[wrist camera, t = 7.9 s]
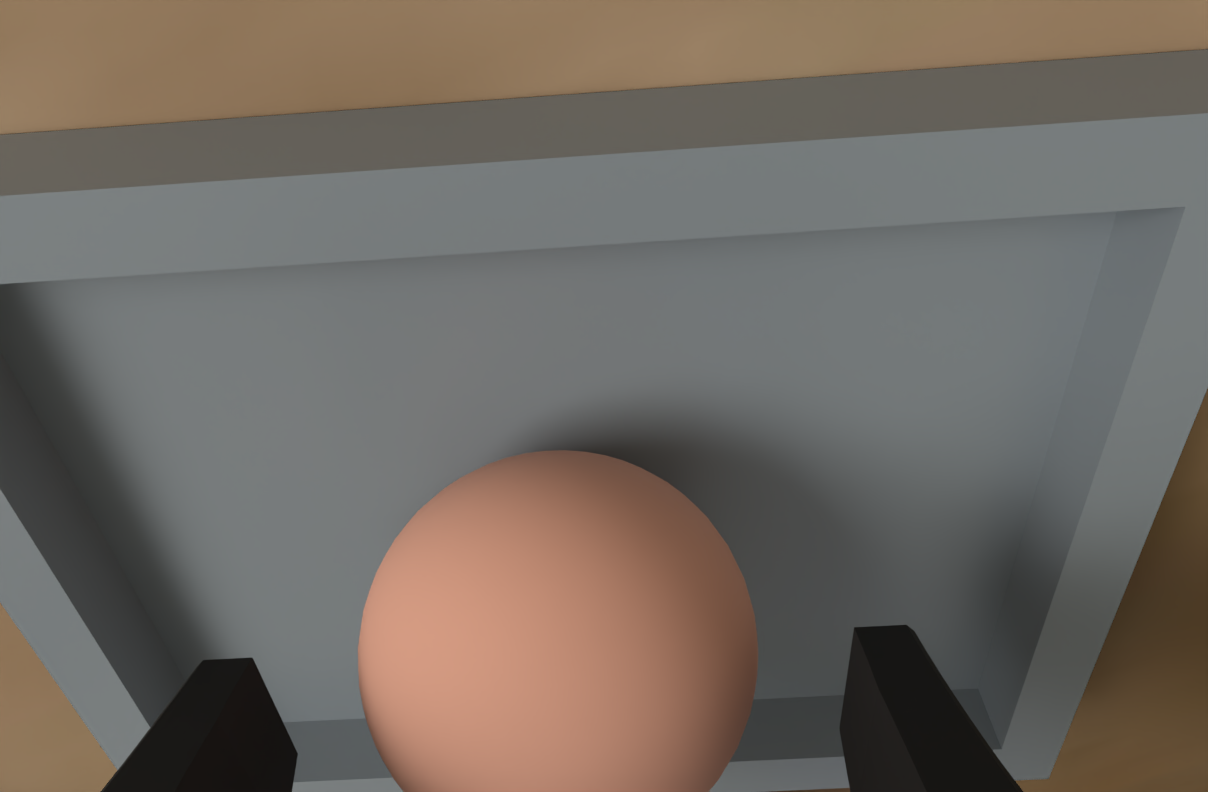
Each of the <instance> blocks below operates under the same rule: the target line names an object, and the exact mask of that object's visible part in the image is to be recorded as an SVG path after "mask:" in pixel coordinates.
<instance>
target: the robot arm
mask: <svg viewBox="0 0 1208 792" xmlns="http://www.w3.org/2000/svg"><path fill="white" fill-rule="evenodd" d="M839 730H840V736H841V741H842V747H843V753H844V759H845V764H846V770H847V776H848V781H849V787H850V792H1023V791H1022V790H1021V788H1020V787H1019V786H1018V784H1017V783H1016V782H1015V780H1014V779H1013V777H1012V776H1011V775H1010V773H1009V772H1008V771H1007V769H1006V768H1005V767H1004V765H1003V764H1002V763H1001V761H1000V760H999V759H998V757H997V756H996V754H995V753H994V752H993V750H992V749H991V747H990V746H989V745H988V743H987V742H986V740H985V739H984V738H983V736H982V735H981V733H980V732H979V730H978V729H977V727H976V726H975V725H974V723H973V722H972V720H971V719H970V717H969V716H968V714H967V713H966V711H965V710H964V708H963V707H962V706H961V704H960V703H959V701H958V700H957V698H956V697H955V695H954V693H953V692H952V690H951V689H950V687H949V686H948V684H947V683H946V681H945V680H944V678H943V677H942V675H941V674H940V672H939V670H938V669H937V667H936V666H935V664H934V662H933V661H932V659H931V658H930V656H929V654H928V653H927V651H926V650H925V648H924V646H923V645H922V643H921V641H920V640H919V638H918V636H917V634H916V633H915V631H914V630H913V629H911V628H910V627H909V626H907V625H890V626H870V627H854V632H853V638H852V645H851V652H850V659H849V666H848V673H847V679H846V686H845V693H844V700H843V707H842V714H841V720H840V727H839ZM297 756H298V753H297V751H296V749H295V746H294V744H293V742H292V740H291V738H290V736H289V734H288V732H287V730H286V727H285V725H284V723H283V721H282V719H281V717H280V715H279V713H278V710H277V708H276V706H275V704H274V702H273V700H272V698H271V696H270V694H269V691H268V689H267V687H266V685H265V683H264V681H263V679H262V677H261V674H260V672H259V670H258V668H257V666H256V664H255V662H254V660H253V658H232V659H213V660H203V661H202V662H201V663H200V664H199V665H198V666H197V667H196V668H195V670H194V671H193V672H192V674H191V675H190V676H189V677H188V679H187V680H186V681H185V683H184V684H183V685H182V687H181V688H180V689H179V691H178V692H177V693H176V694H175V696H174V697H173V698H172V700H171V701H170V702H169V704H168V705H167V706H166V708H165V709H164V710H163V712H162V713H161V714H160V716H159V717H158V718H157V720H156V721H155V722H154V724H153V725H152V726H151V728H150V729H149V730H148V731H147V733H146V734H145V735H144V737H143V738H142V739H141V741H140V742H139V743H138V745H137V746H136V747H135V748H134V750H133V751H132V752H131V754H130V755H129V756H128V758H127V759H126V760H125V761H124V763H123V764H122V765H121V767H120V768H119V769H118V771H117V772H116V773H115V774H114V776H113V777H112V778H111V780H110V781H109V782H108V783H107V785H106V786H105V787H104V788H103V790H102V791H101V792H292V788H293V781H294V775H295V769H296V763H297Z"/></svg>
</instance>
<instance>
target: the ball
mask: <svg viewBox="0 0 1208 792" xmlns="http://www.w3.org/2000/svg"><path fill="white" fill-rule="evenodd" d="M757 671H758V641H757V630H756V622H755V615H754V611H753V607H752V604H751V600H750V596H749V593H748V589H747V586H746V583H745V579H744V577H743V575H742V573H741V571H740V569H739V567H738V565H737V563H736V561H735V559H734V557H733V555H732V552H731V550H730V548H729V546H728V545H727V543H726V542H725V541H724V539H723V538H722V537H721V535H720V534H719V532H718V531H717V530H716V528H715V527H714V526H713V524H712V523H711V522H710V520H709V519H708V517H707V516H706V515H705V514H704V513H703V512H702V511H701V510H700V509H699V508H698V507H697V506H696V505H695V504H694V503H693V502H691V501H690V500H689V499H688V498H687V497H686V496H685V495H684V494H682V493H681V492H680V491H679V490H677V489H676V488H674V487H673V486H672V485H670V484H669V483H668V482H666V481H664V480H663V479H661V478H659V477H657V476H655V475H654V474H652V473H650V472H648V471H646V470H644V469H642V468H640V467H638V466H636V465H633V464H631V463H628V462H626V461H623V460H620V459H617V458H613V457H610V456H606V455H601V454H596V453H590V452H583V451H570V450H553V451H539V452H531V453H524V454H520V455H516V456H511V457H507V458H504V459H501V460H498V461H495V462H492V463H490V464H487V465H485V466H483V467H481V468H479V469H477V470H475V471H473V472H471V473H469V474H467V475H465V476H463V477H461V478H459V479H458V480H456V481H454V482H453V483H451V484H450V485H448V486H447V487H445V488H444V489H443V490H442V491H440V492H439V493H438V494H437V495H436V496H435V497H433V498H432V499H431V500H430V501H429V502H428V503H426V504H425V505H424V506H423V507H422V508H421V509H420V510H418V511H417V513H416V514H415V515H414V516H413V517H412V518H411V520H410V521H409V522H408V523H407V524H406V525H405V527H404V528H403V529H402V531H401V532H400V533H399V534H398V536H397V537H396V538H395V540H394V541H393V543H392V545H391V546H390V548H389V550H388V551H387V553H386V555H385V557H384V558H383V560H382V562H381V564H380V566H379V568H378V570H377V572H376V574H375V577H374V580H373V582H372V585H371V588H370V591H369V594H368V597H367V600H366V603H365V607H364V610H363V616H362V622H361V629H360V636H359V643H358V674H359V689H360V694H361V699H362V704H363V710H364V713H365V717H366V721H367V724H368V727H369V730H370V733H371V735H372V738H373V741H374V743H375V746H376V748H377V750H378V752H379V754H380V756H381V758H382V760H383V762H384V763H385V765H386V767H387V768H388V770H389V772H390V773H391V775H392V777H393V779H394V780H395V781H396V783H397V784H398V785H399V787H400V788H401V789H402V790H403V792H709V791H710V789H711V788H712V787H713V786H714V785H715V783H716V782H717V781H718V780H719V778H720V777H721V775H722V773H723V772H724V770H725V768H726V767H727V765H728V763H729V761H730V760H731V758H732V756H733V755H734V753H735V751H736V749H737V748H738V745H739V742H740V740H741V737H742V734H743V732H744V729H745V727H746V724H747V721H748V718H749V716H750V713H751V708H752V703H753V698H754V693H755V688H756V681H757Z"/></svg>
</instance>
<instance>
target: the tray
mask: <svg viewBox="0 0 1208 792" xmlns="http://www.w3.org/2000/svg"><path fill="white" fill-rule="evenodd" d="M1207 388H1208V49H1207V50H1192V51H1178V52H1164V53H1150V54H1136V55H1122V56H1108V57H1094V58H1079V59H1065V60H1051V61H1037V62H1023V63H1009V64H995V65H981V66H966V67H952V68H938V69H924V70H910V71H896V72H882V73H868V74H853V75H839V76H825V77H811V78H797V79H783V80H769V81H755V82H740V83H726V84H712V85H698V86H684V87H670V88H656V89H642V90H627V91H613V92H599V93H585V94H571V95H557V96H543V97H529V98H514V99H500V100H486V101H472V102H458V103H444V104H430V105H415V106H401V107H387V108H373V109H359V110H345V111H331V112H317V113H302V114H288V115H274V116H260V117H246V118H232V119H218V120H204V121H189V122H175V123H161V124H147V125H133V126H119V127H105V128H91V129H76V130H62V131H48V132H34V133H20V134H6V135H0V603H1V604H2V606H3V607H4V608H5V610H6V611H7V613H8V614H9V616H10V617H11V618H12V620H13V621H14V623H15V624H16V626H17V627H18V628H19V630H20V631H21V633H22V634H23V636H24V637H25V638H26V640H27V641H28V643H29V644H30V646H31V647H32V648H33V650H34V651H35V653H36V654H37V656H38V657H39V659H40V660H41V661H42V663H43V664H44V666H45V667H46V669H47V670H48V671H49V673H50V674H51V676H52V677H53V679H54V680H55V681H56V683H57V684H58V686H59V687H60V689H61V690H62V691H63V693H64V694H65V696H66V697H67V699H68V700H69V701H70V703H71V704H72V706H73V707H74V709H75V710H76V711H77V713H78V714H79V716H80V717H81V719H82V720H83V721H84V723H85V724H86V726H87V727H88V729H89V730H90V731H91V733H92V734H93V736H94V737H95V739H96V740H97V741H98V743H99V744H100V746H101V747H102V749H103V750H104V752H105V753H106V754H107V756H108V757H109V759H110V760H111V762H112V763H113V764H114V766H115V767H116V769H117V770H118V769H119V768H120V767H121V765H122V764H123V763H124V761H125V760H126V759H127V758H128V756H129V755H130V754H131V752H132V751H133V750H134V748H135V747H136V746H137V745H138V743H139V742H140V741H141V739H142V738H143V737H144V735H145V734H146V733H147V731H148V730H149V729H150V728H151V726H152V725H153V724H154V722H155V721H156V720H157V718H158V717H159V716H160V714H161V713H162V712H163V710H164V709H165V708H166V706H167V705H168V704H169V702H170V701H171V700H172V698H173V697H174V696H175V694H176V693H177V692H178V691H179V689H180V688H181V687H182V685H183V684H184V683H185V681H186V680H187V679H188V677H189V676H190V675H191V674H192V672H193V671H194V670H195V668H196V667H197V666H198V665H199V664H200V663H201V662H202V661H203V660H213V659H232V658H253V660H254V662H255V664H256V666H257V668H258V670H259V672H260V674H261V677H262V679H263V681H264V683H265V685H266V687H267V689H268V691H269V694H270V696H271V698H272V700H273V702H274V704H275V706H276V708H277V710H278V713H279V715H280V717H281V719H282V721H283V723H284V725H285V727H286V730H287V732H288V734H289V736H290V738H291V740H292V742H293V744H294V746H295V749H296V751H297V753H298V756H297V763H296V769H295V775H294V781H293V788H292V792H403V790H402V789H401V788H400V787H399V785H398V784H397V783H396V781H395V780H394V779H393V777H392V775H391V773H390V772H389V770H388V768H387V767H386V765H385V763H384V762H383V760H382V758H381V756H380V754H379V752H378V750H377V748H376V746H375V743H374V741H373V738H372V735H371V733H370V730H369V727H368V724H367V721H366V717H365V713H364V710H363V704H362V699H361V694H360V689H359V674H358V643H359V636H360V629H361V622H362V616H363V610H364V607H365V603H366V600H367V597H368V594H369V591H370V588H371V585H372V582H373V580H374V577H375V574H376V572H377V570H378V568H379V566H380V564H381V562H382V560H383V558H384V557H385V555H386V553H387V551H388V550H389V548H390V546H391V545H392V543H393V541H394V540H395V538H396V537H397V536H398V534H399V533H400V532H401V531H402V529H403V528H404V527H405V525H406V524H407V523H408V522H409V521H410V520H411V518H412V517H413V516H414V515H415V514H416V513H417V511H418V510H420V509H421V508H422V507H423V506H424V505H425V504H426V503H428V502H429V501H430V500H431V499H432V498H433V497H435V496H436V495H437V494H438V493H439V492H440V491H442V490H443V489H444V488H445V487H447V486H448V485H450V484H451V483H453V482H454V481H456V480H458V479H459V478H461V477H463V476H465V475H467V474H469V473H471V472H473V471H475V470H477V469H479V468H481V467H483V466H485V465H487V464H490V463H492V462H495V461H498V460H501V459H504V458H507V457H511V456H516V455H520V454H524V453H531V452H539V451H553V450H570V451H583V452H590V453H596V454H601V455H606V456H610V457H613V458H617V459H620V460H623V461H626V462H628V463H631V464H633V465H636V466H638V467H640V468H642V469H644V470H646V471H648V472H650V473H652V474H654V475H655V476H657V477H659V478H661V479H663V480H664V481H666V482H668V483H669V484H670V485H672V486H673V487H674V488H676V489H677V490H679V491H680V492H681V493H682V494H684V495H685V496H686V497H687V498H688V499H689V500H690V501H691V502H693V503H694V504H695V505H696V506H697V507H698V508H699V509H700V510H701V511H702V512H703V513H704V514H705V515H706V516H707V517H708V519H709V520H710V522H711V523H712V524H713V526H714V527H715V528H716V530H717V531H718V532H719V534H720V535H721V537H722V538H723V539H724V541H725V542H726V543H727V545H728V546H729V548H730V550H731V552H732V555H733V557H734V559H735V561H736V563H737V565H738V567H739V569H740V571H741V573H742V575H743V577H744V579H745V583H746V586H747V589H748V593H749V596H750V600H751V604H752V607H753V611H754V615H755V622H756V630H757V641H758V671H757V681H756V688H755V693H754V698H753V703H752V708H751V713H750V716H749V718H748V721H747V724H746V727H745V729H744V732H743V734H742V737H741V740H740V742H739V745H738V748H737V749H736V751H735V753H734V755H733V756H732V758H731V760H730V761H729V763H728V765H727V767H726V768H725V770H724V772H723V773H722V775H721V777H720V778H719V780H718V781H717V782H716V783H715V785H714V786H713V787H712V788H711V789H710V791H709V792H769V791H791V790H813V789H835V788H850V787H849V781H848V776H847V770H846V764H845V759H844V753H843V747H842V741H841V736H840V730H839V727H840V720H841V714H842V707H843V700H844V693H845V686H846V679H847V673H848V666H849V659H850V652H851V645H852V638H853V632H854V627H870V626H890V625H907V626H909V627H910V628H911V629H913V630H914V631H915V633H916V634H917V636H918V638H919V640H920V641H921V643H922V645H923V646H924V648H925V650H926V651H927V653H928V654H929V656H930V658H931V659H932V661H933V662H934V664H935V666H936V667H937V669H938V670H939V672H940V674H941V675H942V677H943V678H944V680H945V681H946V683H947V684H948V686H949V687H950V689H951V690H952V692H953V693H954V695H955V697H956V698H957V700H958V701H959V703H960V704H961V706H962V707H963V708H964V710H965V711H966V713H967V714H968V716H969V717H970V719H971V720H972V722H973V723H974V725H975V726H976V727H977V729H978V730H979V732H980V733H981V735H982V736H983V738H984V739H985V740H986V742H987V743H988V745H989V746H990V747H991V749H992V750H993V752H994V753H995V754H996V756H997V757H998V759H999V760H1000V761H1001V763H1002V764H1003V765H1004V767H1005V768H1006V769H1007V771H1008V772H1009V773H1010V775H1011V776H1012V777H1013V779H1014V780H1033V779H1049V776H1050V774H1051V771H1052V769H1053V766H1054V764H1055V761H1056V759H1057V757H1058V754H1059V752H1060V749H1061V747H1062V744H1063V742H1064V739H1065V737H1066V735H1067V732H1068V730H1069V727H1070V725H1071V722H1072V720H1073V717H1074V715H1075V712H1076V710H1077V708H1078V705H1079V703H1080V700H1081V698H1082V695H1083V693H1084V690H1085V688H1086V685H1087V683H1088V681H1089V678H1090V676H1091V673H1092V671H1093V668H1094V666H1095V663H1096V661H1097V658H1098V656H1099V654H1100V651H1101V649H1102V646H1103V644H1104V641H1105V639H1106V636H1107V634H1108V631H1109V629H1110V627H1111V624H1112V622H1113V619H1114V617H1115V614H1116V612H1117V609H1118V607H1119V604H1120V602H1121V600H1122V597H1123V595H1124V592H1125V590H1126V587H1127V585H1128V582H1129V580H1130V577H1131V575H1132V573H1133V570H1134V568H1135V565H1136V563H1137V560H1138V558H1139V555H1140V553H1141V550H1142V548H1143V546H1144V543H1145V541H1146V538H1147V536H1148V533H1149V531H1150V528H1151V526H1152V523H1153V521H1154V519H1155V516H1156V514H1157V511H1158V509H1159V506H1160V504H1161V501H1162V499H1163V496H1164V494H1165V492H1166V489H1167V487H1168V484H1169V482H1170V479H1171V477H1172V474H1173V472H1174V469H1175V467H1176V465H1177V462H1178V460H1179V457H1180V455H1181V452H1182V450H1183V447H1184V445H1185V442H1186V440H1187V438H1188V435H1189V433H1190V430H1191V428H1192V425H1193V423H1194V420H1195V418H1196V415H1197V413H1198V411H1199V408H1200V406H1201V403H1202V401H1203V398H1204V396H1205V393H1206V391H1207Z"/></svg>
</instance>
